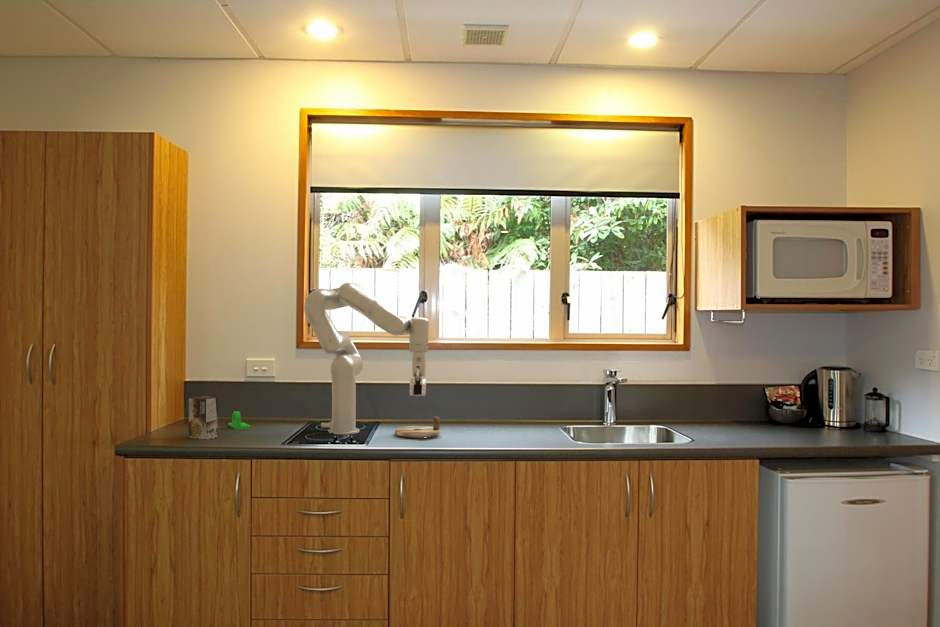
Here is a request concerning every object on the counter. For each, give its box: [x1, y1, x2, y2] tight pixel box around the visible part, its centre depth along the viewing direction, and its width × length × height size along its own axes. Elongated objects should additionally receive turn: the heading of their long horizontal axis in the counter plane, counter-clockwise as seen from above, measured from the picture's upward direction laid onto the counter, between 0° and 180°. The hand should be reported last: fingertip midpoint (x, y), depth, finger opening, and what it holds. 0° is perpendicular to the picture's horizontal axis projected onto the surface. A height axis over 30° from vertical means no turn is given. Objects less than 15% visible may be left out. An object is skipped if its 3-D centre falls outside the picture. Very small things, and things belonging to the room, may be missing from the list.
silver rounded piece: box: [409, 377, 427, 397], centre depth 284 cm, size 6×6×7 cm
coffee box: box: [188, 395, 219, 440], centre depth 274 cm, size 9×6×16 cm
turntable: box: [394, 416, 441, 438], centre depth 285 cm, size 18×18×6 cm
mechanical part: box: [227, 410, 251, 430], centre depth 300 cm, size 12×6×8 cm, turn 33°
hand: (417, 393), depth 284 cm, fingers closed on silver rounded piece, 6 cm apart
